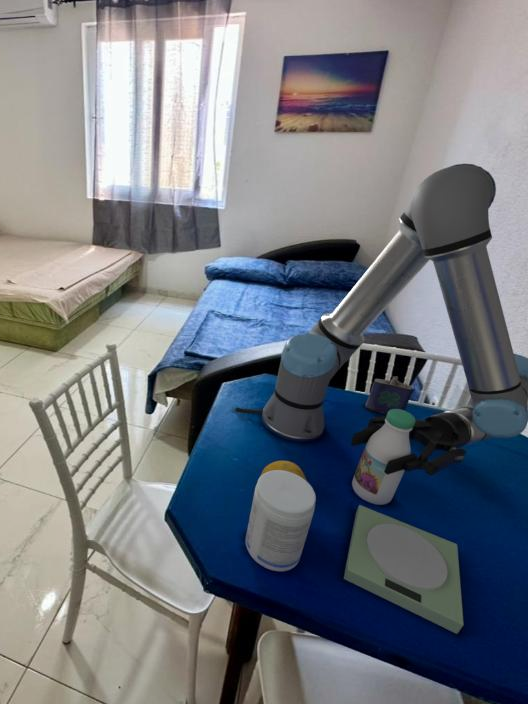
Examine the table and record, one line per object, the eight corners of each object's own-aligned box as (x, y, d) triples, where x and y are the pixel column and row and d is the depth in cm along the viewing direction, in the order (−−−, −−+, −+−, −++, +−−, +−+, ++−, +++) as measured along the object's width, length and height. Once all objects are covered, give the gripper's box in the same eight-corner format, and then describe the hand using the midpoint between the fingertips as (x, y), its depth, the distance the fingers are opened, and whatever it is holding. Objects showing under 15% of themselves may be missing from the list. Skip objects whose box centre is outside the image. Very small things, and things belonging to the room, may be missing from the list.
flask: (365, 408, 112) (376, 375, 107) (364, 403, 114) (376, 370, 109) (403, 418, 108) (417, 384, 103) (401, 412, 111) (415, 379, 106)
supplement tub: (310, 556, 72) (331, 497, 65) (274, 584, 67) (292, 524, 60) (268, 518, 79) (282, 461, 72) (233, 541, 74) (244, 482, 67)
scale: (343, 578, 68) (348, 566, 67) (355, 513, 80) (360, 501, 79) (457, 634, 61) (466, 622, 59) (451, 553, 73) (459, 541, 72)
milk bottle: (382, 479, 89) (413, 404, 79) (398, 508, 82) (434, 430, 72) (346, 476, 89) (372, 401, 80) (358, 504, 82) (389, 426, 73)
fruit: (271, 516, 79) (279, 487, 75) (250, 485, 86) (256, 457, 82) (310, 507, 81) (319, 478, 78) (287, 478, 88) (294, 450, 84)
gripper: (495, 476, 79) (410, 507, 72) (404, 415, 96) (327, 435, 88) (513, 446, 75) (425, 476, 68) (415, 389, 92) (336, 407, 85)
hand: (370, 453), depth 78 cm, fingers closed on milk bottle, 7 cm apart
